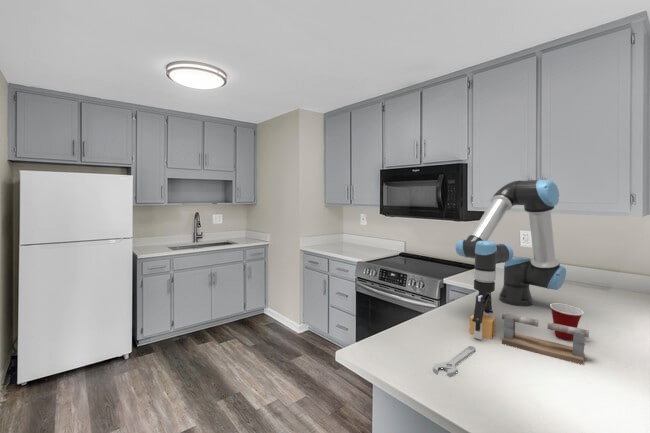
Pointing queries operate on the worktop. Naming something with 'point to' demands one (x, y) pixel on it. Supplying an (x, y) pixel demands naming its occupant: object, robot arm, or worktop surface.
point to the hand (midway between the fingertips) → (482, 333)
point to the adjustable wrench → (454, 361)
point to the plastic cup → (565, 318)
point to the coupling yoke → (485, 326)
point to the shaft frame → (544, 346)
